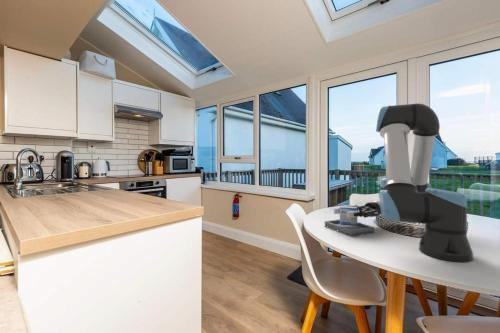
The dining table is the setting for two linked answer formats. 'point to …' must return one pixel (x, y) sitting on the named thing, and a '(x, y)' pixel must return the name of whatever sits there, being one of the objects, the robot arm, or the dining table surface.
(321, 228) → the dining table surface
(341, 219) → the medicine box
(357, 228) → the parts tray
